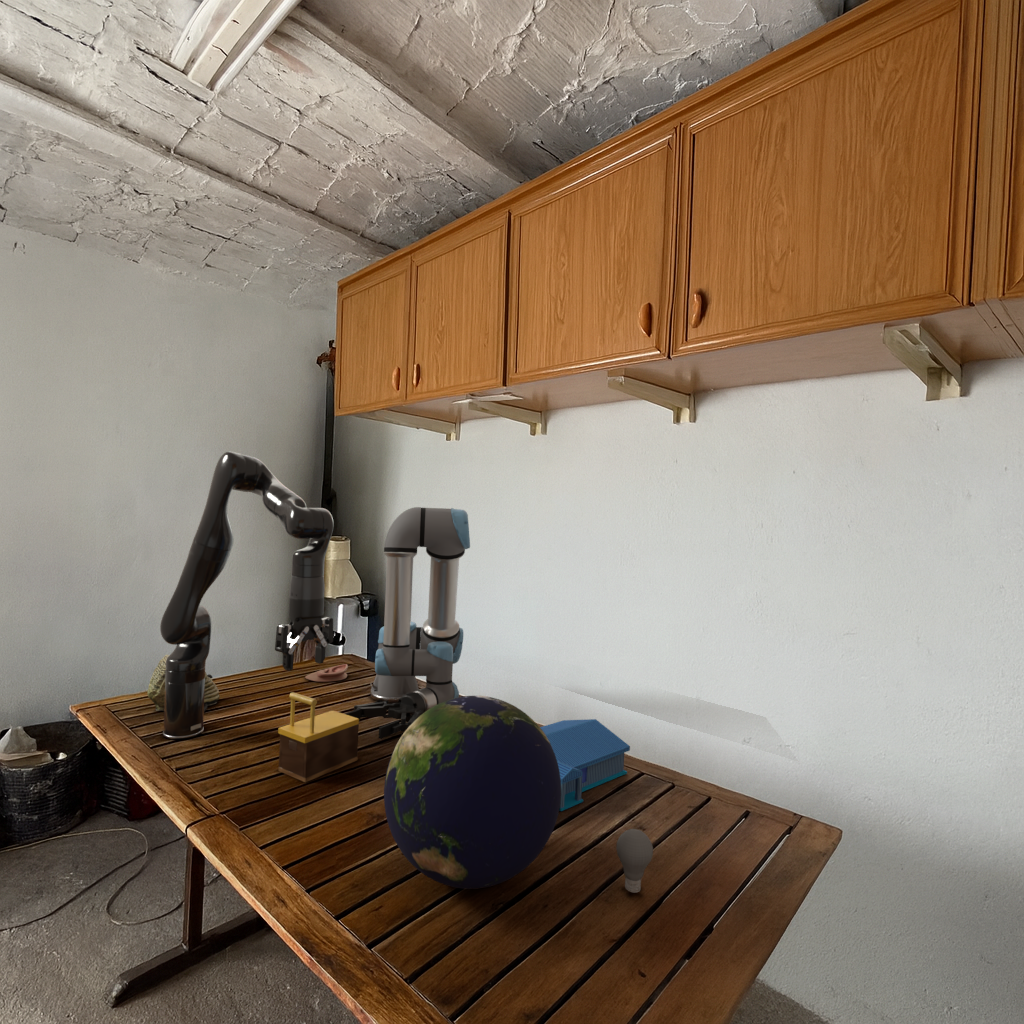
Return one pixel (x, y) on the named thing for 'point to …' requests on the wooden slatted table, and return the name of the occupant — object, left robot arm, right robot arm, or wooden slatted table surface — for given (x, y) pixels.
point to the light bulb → (634, 857)
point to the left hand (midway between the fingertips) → (304, 666)
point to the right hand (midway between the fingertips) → (359, 726)
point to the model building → (584, 756)
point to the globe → (472, 792)
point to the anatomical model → (329, 674)
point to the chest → (318, 754)
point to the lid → (315, 722)
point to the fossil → (158, 687)
